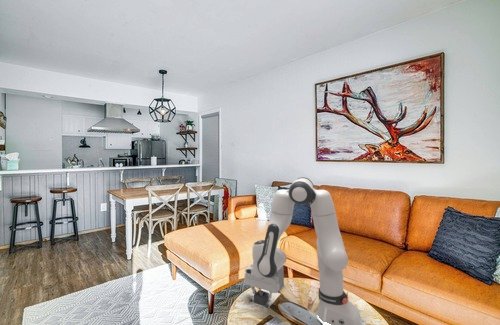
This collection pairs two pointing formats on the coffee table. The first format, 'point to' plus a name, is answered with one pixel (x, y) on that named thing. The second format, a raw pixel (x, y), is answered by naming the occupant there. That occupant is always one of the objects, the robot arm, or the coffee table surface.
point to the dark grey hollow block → (261, 298)
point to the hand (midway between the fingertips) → (262, 295)
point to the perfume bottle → (281, 277)
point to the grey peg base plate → (269, 302)
